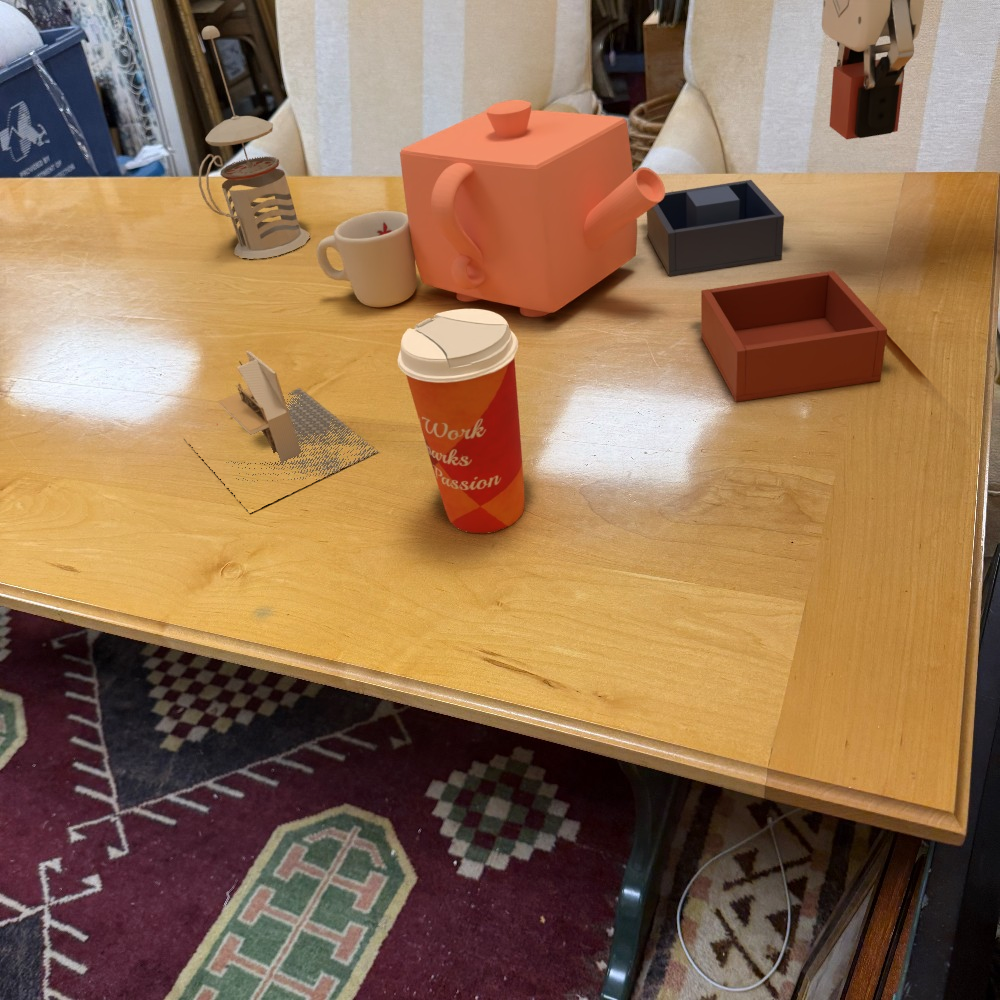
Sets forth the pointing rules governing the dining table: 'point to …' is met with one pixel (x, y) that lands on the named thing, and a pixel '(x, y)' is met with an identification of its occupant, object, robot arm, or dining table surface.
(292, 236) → the french press
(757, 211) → the slate bin
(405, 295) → the cup
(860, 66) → the red block
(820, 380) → the terracotta bin
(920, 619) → the dining table surface
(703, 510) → the dining table surface
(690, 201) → the slate block
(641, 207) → the teapot
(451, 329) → the paper cup
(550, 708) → the dining table surface
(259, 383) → the architectural model
